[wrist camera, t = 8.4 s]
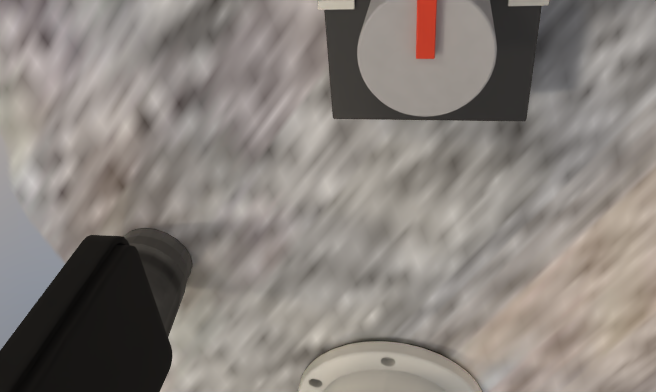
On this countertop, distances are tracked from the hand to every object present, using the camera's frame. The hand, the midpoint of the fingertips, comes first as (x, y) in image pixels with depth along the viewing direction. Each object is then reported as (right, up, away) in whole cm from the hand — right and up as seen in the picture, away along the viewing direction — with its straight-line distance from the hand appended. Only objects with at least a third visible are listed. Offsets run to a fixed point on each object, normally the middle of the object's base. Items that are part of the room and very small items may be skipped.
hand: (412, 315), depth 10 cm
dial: (+2, +9, +12) cm, 16 cm away
